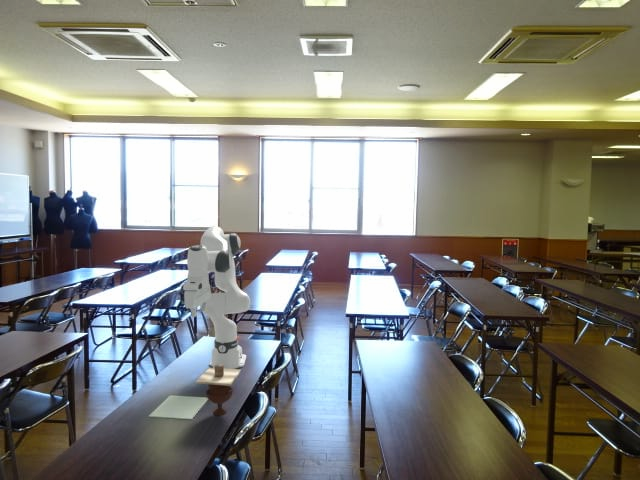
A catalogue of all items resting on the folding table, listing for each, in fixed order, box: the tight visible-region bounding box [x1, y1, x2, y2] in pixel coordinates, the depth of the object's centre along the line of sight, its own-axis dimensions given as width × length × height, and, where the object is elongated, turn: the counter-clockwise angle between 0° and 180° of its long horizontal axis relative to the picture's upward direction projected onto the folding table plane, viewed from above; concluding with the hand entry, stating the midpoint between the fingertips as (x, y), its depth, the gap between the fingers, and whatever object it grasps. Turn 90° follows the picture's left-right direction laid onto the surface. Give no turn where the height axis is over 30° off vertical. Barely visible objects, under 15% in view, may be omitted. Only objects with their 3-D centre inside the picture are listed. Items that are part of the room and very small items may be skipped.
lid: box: [195, 364, 242, 386], centre depth 170 cm, size 14×14×5 cm
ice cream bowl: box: [205, 384, 234, 416], centre depth 171 cm, size 11×11×15 cm
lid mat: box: [148, 394, 209, 420], centre depth 175 cm, size 18×18×1 cm
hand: (199, 313), depth 183 cm, fingers open, 8 cm apart
